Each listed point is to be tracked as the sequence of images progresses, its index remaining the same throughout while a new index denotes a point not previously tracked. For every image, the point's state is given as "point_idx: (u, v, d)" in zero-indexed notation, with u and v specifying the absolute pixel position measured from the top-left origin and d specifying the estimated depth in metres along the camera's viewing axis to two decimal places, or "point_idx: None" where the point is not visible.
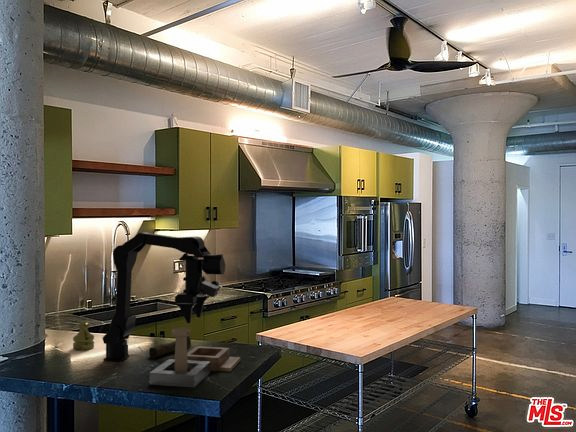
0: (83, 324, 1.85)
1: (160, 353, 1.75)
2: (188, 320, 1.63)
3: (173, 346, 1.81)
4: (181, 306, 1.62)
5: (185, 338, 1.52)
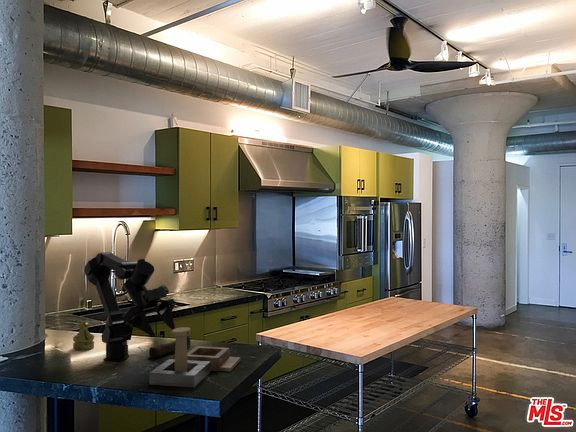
0: (83, 324, 1.85)
1: (160, 353, 1.75)
2: (150, 332, 1.53)
3: (173, 346, 1.81)
4: (136, 325, 1.54)
5: (185, 338, 1.52)
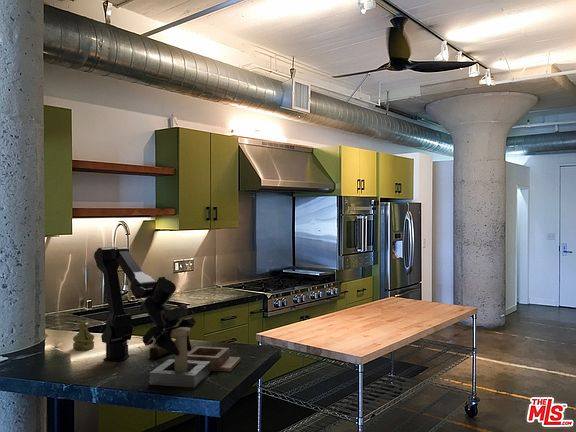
0: (83, 324, 1.85)
1: (161, 353, 1.75)
2: (175, 352, 1.50)
3: None
4: (161, 344, 1.51)
5: (185, 338, 1.52)
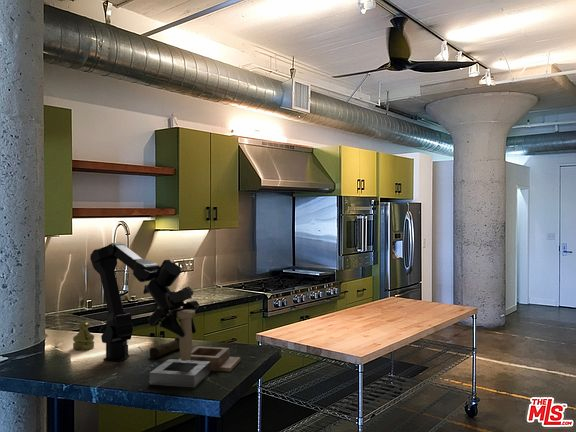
0: (83, 324, 1.85)
1: (161, 353, 1.75)
2: (180, 333, 1.52)
3: (172, 346, 1.81)
4: (166, 326, 1.53)
5: (190, 320, 1.54)
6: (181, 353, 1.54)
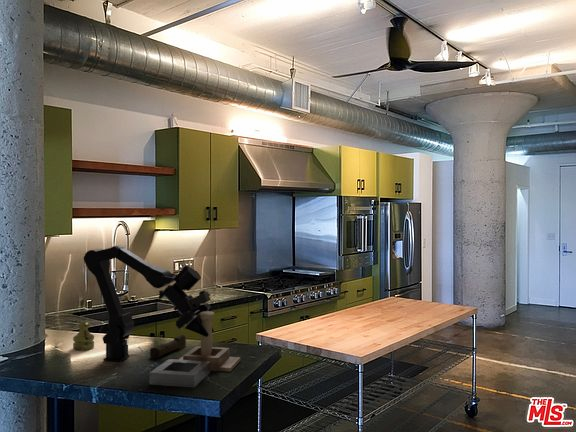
0: (83, 324, 1.85)
1: (161, 353, 1.75)
2: (205, 333, 1.64)
3: (172, 345, 1.81)
4: (190, 327, 1.64)
5: (211, 321, 1.67)
6: (203, 352, 1.66)
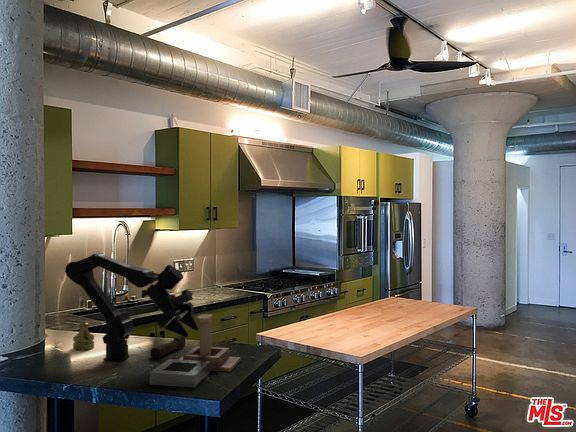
0: (83, 324, 1.85)
1: (162, 353, 1.75)
2: (185, 333, 1.63)
3: (172, 346, 1.81)
4: (170, 328, 1.63)
5: (209, 323, 1.67)
6: None
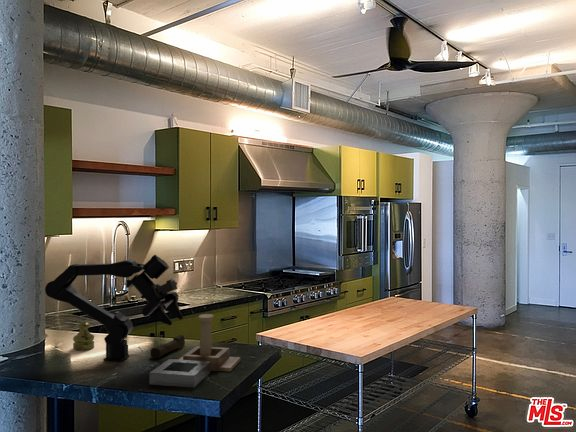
0: (83, 324, 1.85)
1: (162, 353, 1.75)
2: (168, 322, 1.66)
3: (172, 345, 1.81)
4: (154, 316, 1.66)
5: (210, 323, 1.67)
6: (203, 354, 1.66)
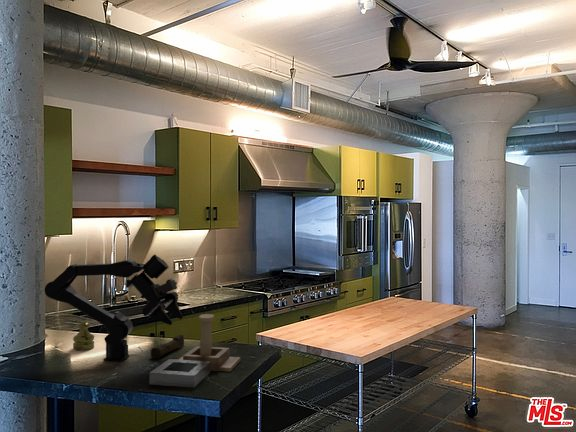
0: (83, 324, 1.85)
1: (162, 353, 1.75)
2: (168, 321, 1.66)
3: (172, 345, 1.81)
4: (154, 316, 1.66)
5: None
6: None
